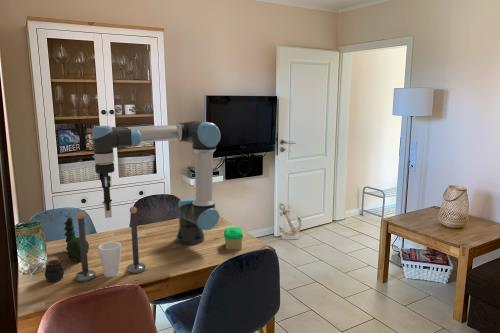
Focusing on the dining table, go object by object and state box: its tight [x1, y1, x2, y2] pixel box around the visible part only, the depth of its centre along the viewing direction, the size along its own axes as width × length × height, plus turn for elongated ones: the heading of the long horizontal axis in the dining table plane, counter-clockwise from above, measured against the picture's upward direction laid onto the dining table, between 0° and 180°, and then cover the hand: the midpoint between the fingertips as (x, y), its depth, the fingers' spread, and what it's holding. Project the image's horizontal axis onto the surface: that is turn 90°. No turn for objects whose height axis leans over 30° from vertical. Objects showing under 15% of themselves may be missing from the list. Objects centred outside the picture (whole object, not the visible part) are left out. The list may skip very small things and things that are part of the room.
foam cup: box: [97, 241, 123, 278], centre depth 166 cm, size 10×9×13 cm
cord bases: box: [74, 262, 146, 283], centre depth 167 cm, size 29×8×2 cm, turn 111°
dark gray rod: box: [76, 211, 89, 274], centre depth 161 cm, size 3×3×28 cm
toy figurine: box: [63, 216, 90, 262], centre depth 183 cm, size 9×19×25 cm
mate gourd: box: [44, 258, 65, 283], centre depth 161 cm, size 7×8×10 cm
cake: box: [223, 226, 244, 250], centre depth 197 cm, size 10×11×10 cm
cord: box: [129, 206, 140, 266], centre depth 168 cm, size 3×3×28 cm
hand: (108, 217), depth 163 cm, fingers closed
